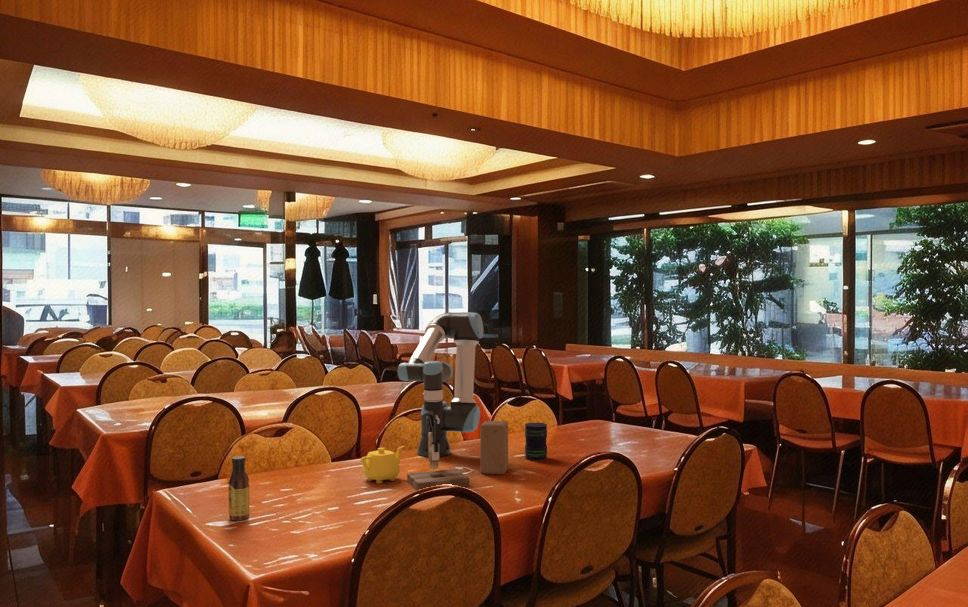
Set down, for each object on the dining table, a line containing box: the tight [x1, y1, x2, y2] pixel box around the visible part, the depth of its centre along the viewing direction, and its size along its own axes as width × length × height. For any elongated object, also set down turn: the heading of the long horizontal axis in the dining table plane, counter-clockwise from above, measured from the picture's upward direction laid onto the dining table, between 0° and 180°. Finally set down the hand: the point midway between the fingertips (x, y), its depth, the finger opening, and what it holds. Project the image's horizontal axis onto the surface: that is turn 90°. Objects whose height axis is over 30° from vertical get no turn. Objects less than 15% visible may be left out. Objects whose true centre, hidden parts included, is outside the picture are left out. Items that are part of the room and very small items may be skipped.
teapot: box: [360, 445, 405, 485], centre depth 269 cm, size 13×20×12 cm
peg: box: [428, 432, 440, 470], centre depth 275 cm, size 4×4×14 cm
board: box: [406, 468, 470, 491], centre depth 263 cm, size 15×20×3 cm
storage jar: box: [524, 422, 548, 462], centre depth 305 cm, size 10×10×15 cm
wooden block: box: [479, 420, 509, 475], centre depth 281 cm, size 10×10×20 cm
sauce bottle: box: [228, 455, 250, 521], centre depth 222 cm, size 7×6×20 cm
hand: (433, 458), depth 275 cm, fingers closed on peg, 4 cm apart
